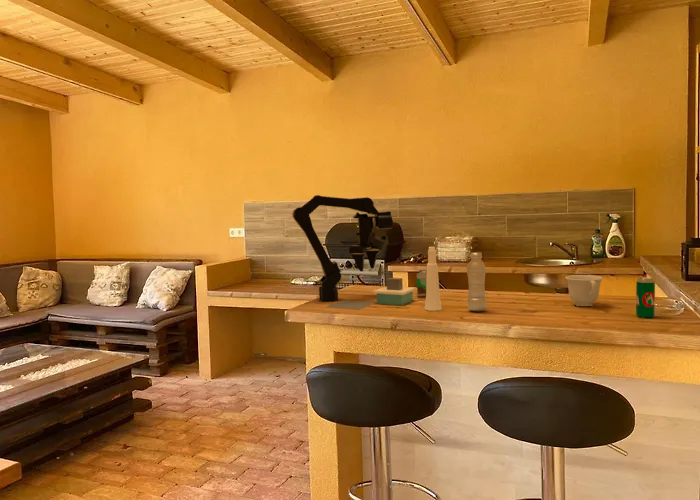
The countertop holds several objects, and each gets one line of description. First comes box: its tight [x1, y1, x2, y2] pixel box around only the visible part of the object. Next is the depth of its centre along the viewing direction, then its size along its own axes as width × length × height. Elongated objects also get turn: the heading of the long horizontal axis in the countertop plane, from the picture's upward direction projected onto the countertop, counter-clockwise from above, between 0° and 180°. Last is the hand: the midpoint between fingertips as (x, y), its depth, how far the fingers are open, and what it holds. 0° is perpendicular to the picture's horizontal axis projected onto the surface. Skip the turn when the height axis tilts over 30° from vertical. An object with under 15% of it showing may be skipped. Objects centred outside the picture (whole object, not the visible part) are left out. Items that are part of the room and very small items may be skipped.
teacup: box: [564, 274, 604, 307], centre depth 182 cm, size 12×15×10 cm
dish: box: [376, 291, 414, 306], centre depth 197 cm, size 10×10×5 cm
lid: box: [372, 277, 417, 295], centre depth 196 cm, size 12×12×5 cm
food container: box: [416, 269, 427, 299], centre depth 213 cm, size 12×6×10 cm, turn 168°
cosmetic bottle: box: [424, 246, 443, 312], centre depth 185 cm, size 6×6×22 cm
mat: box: [326, 300, 377, 311], centre depth 194 cm, size 14×14×1 cm
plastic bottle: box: [466, 251, 488, 312], centre depth 180 cm, size 6×7×20 cm
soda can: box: [635, 277, 656, 319], centre depth 163 cm, size 5×5×12 cm
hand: (367, 269), depth 207 cm, fingers open, 9 cm apart
